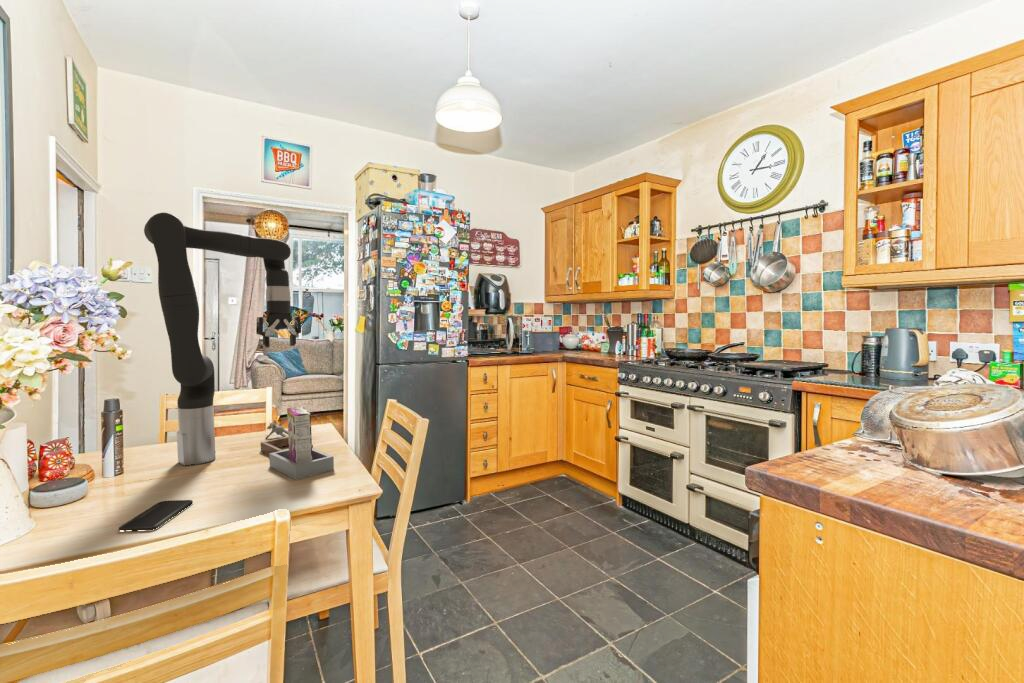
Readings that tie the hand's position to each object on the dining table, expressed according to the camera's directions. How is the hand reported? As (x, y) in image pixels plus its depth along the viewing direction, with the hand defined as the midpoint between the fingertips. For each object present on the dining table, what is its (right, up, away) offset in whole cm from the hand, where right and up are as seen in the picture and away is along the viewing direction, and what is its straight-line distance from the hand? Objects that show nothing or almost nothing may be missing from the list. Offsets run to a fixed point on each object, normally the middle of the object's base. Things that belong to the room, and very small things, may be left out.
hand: (279, 346), depth 167 cm
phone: (0, -39, -57) cm, 69 cm away
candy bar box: (+18, -35, -24) cm, 46 cm away
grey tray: (+18, -36, -24) cm, 47 cm away
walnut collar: (+6, -35, -8) cm, 36 cm away
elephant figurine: (-5, -34, +10) cm, 36 cm away
